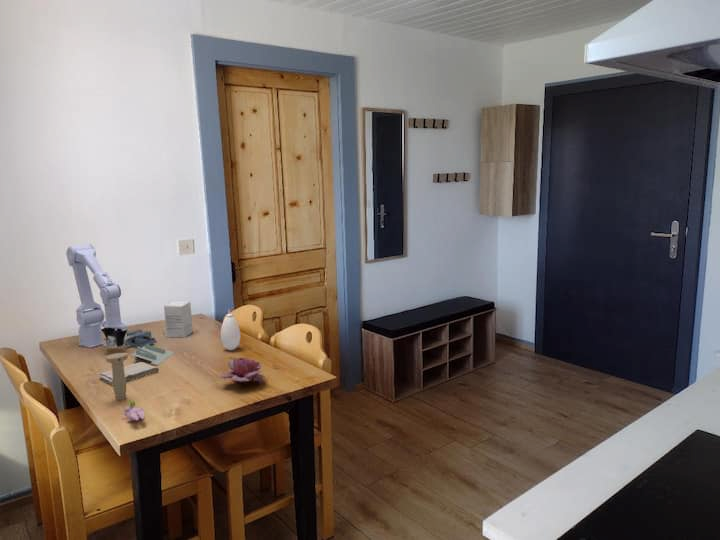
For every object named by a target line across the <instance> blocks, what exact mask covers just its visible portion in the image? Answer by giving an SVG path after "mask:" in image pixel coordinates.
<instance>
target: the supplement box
mask: <svg viewBox="0 0 720 540" xmlns="http://www.w3.org/2000/svg"><path fill="white" fill-rule="evenodd" d="M191 305H192V304H191V301H180V300H179V301H178V300H176V301H175V300H174V301H172V302H171V301H170V302H169V303H168V304H166V305H164V306H163V309H164V320H165V329H166V331H165V332H166V333H165V334H166V338H181V337H182V338H186V337H187V336H189V335H190V334H192V333H193V332H194V331H193V318H192V307H191Z"/></svg>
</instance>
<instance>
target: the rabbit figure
mask: <svg viewBox="0 0 720 540" xmlns="http://www.w3.org/2000/svg"><path fill="white" fill-rule="evenodd" d="M123 408H124V409H123V411H124V412H121V415H126V416H125V418H126V419H127V420H130V421H139V420H140V419H142V420H144V419H145V417H146V412H145V411H143V409H144V408H143V407H141V408H139V407H137V406H136V403H135V401H134V400H133V399H131V400H130V403H129V406H124V407H123Z"/></svg>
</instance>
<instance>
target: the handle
mask: <svg viewBox="0 0 720 540" xmlns="http://www.w3.org/2000/svg"><path fill="white" fill-rule="evenodd" d="M127 359H128V353H127V352H117V353H112V354H109V355H107V356H105V360H106V362H107V363H109V364H111V368H112V369H111V370H112V374H113V385H112V387H113V393H114V395H115V396H114V397H115V400H116V401H123V400H125V399H126V398H127V394H126V393H127V382H126V379H125V373H124V361H126V360H127Z"/></svg>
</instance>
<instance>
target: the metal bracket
mask: <svg viewBox="0 0 720 540" xmlns="http://www.w3.org/2000/svg"><path fill="white" fill-rule="evenodd" d="M173 353H175V351H171V350H167V351H166V350H165V348H162V347H158V346H152V345H148V344H146V345H145V346H144V347H142V348H138V347H137V348H136V350H135V351H134V352H132V354H130V355H131V356H133V357H135V358H134V360H135V359H136V358H137V359H138V357H139V359H143V360H146V361H148V362H150V364H151V365H152V366H156V365H158V364H159V363H161V362H162V361H163V360H165V359H166V358H167V357H169V356H170V355H172V354H173ZM173 355H174V354H173ZM173 355H172V356H173ZM170 357H171V356H170ZM170 357H169V358H170ZM137 359H136V360H137ZM167 359H168V358H167ZM167 359H166V360H167ZM166 360H165V361H166ZM163 362H164V361H163ZM163 362H162V363H163ZM162 363H161V364H162ZM158 366H159V365H158Z"/></svg>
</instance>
